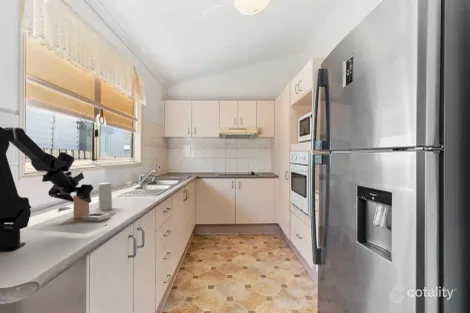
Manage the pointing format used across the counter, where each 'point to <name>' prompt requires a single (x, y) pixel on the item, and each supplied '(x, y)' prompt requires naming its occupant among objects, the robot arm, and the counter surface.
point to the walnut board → (79, 221)
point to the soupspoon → (64, 208)
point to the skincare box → (104, 196)
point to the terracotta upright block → (80, 207)
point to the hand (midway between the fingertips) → (81, 201)
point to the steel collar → (96, 217)
